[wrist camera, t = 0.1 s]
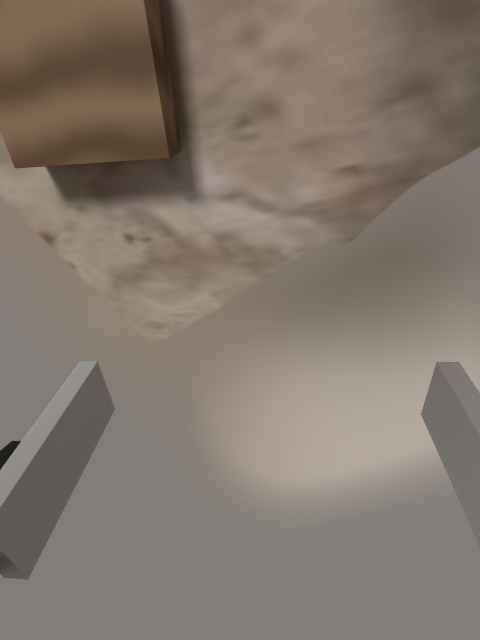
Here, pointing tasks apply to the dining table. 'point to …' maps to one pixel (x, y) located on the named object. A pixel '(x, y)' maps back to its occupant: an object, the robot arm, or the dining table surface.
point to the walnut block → (85, 82)
